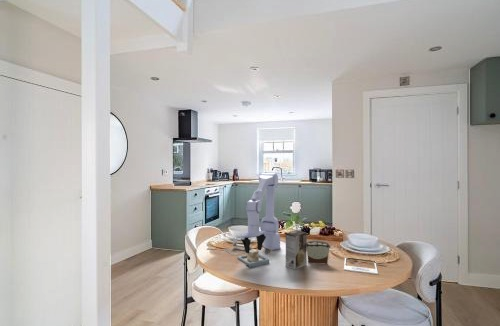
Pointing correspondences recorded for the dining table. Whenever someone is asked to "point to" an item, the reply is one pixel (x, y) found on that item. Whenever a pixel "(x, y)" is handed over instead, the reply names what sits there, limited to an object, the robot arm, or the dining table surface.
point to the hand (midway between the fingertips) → (253, 251)
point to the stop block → (253, 255)
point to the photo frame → (360, 269)
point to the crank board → (236, 250)
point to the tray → (254, 264)
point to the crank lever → (238, 244)
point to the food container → (317, 252)
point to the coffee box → (296, 249)
